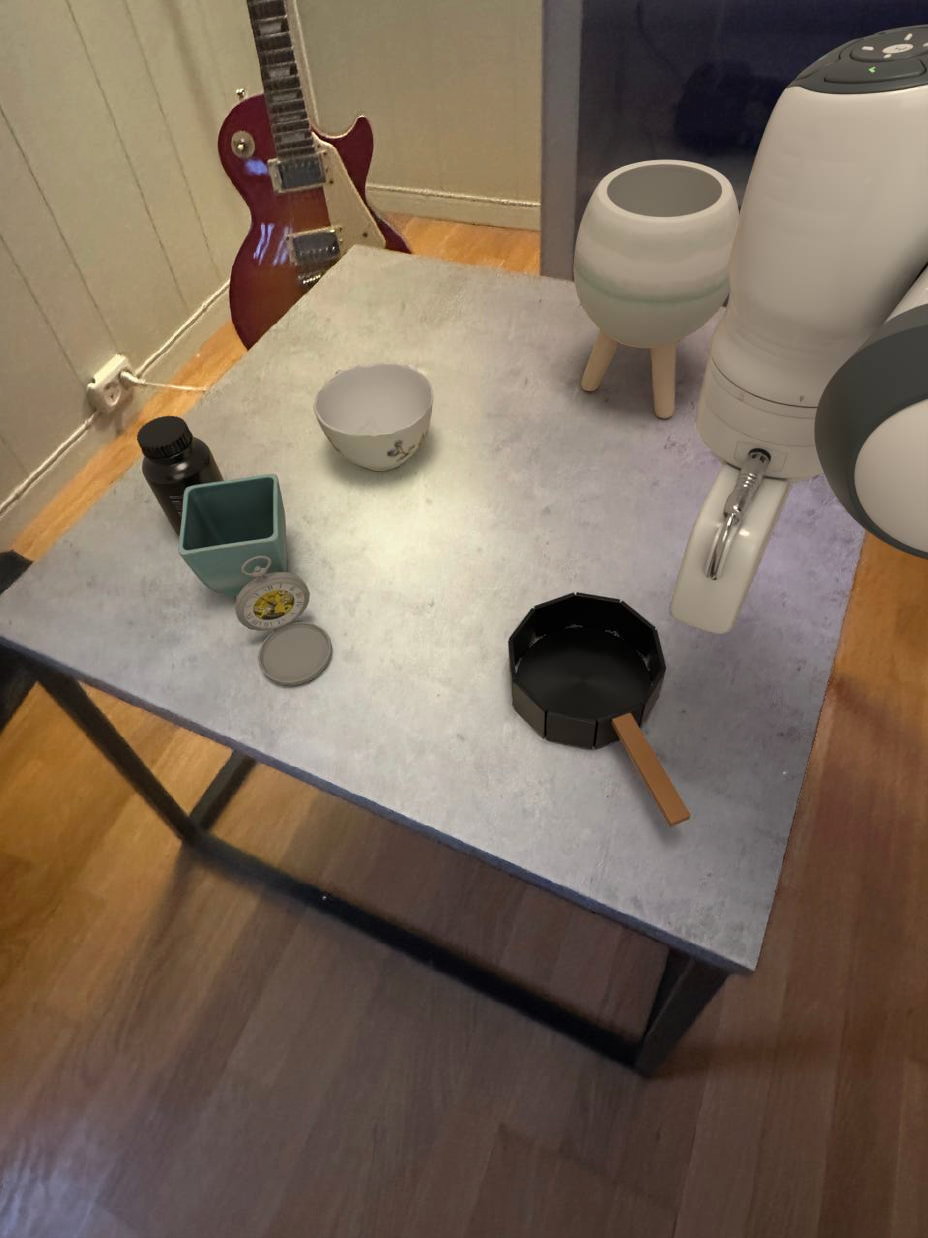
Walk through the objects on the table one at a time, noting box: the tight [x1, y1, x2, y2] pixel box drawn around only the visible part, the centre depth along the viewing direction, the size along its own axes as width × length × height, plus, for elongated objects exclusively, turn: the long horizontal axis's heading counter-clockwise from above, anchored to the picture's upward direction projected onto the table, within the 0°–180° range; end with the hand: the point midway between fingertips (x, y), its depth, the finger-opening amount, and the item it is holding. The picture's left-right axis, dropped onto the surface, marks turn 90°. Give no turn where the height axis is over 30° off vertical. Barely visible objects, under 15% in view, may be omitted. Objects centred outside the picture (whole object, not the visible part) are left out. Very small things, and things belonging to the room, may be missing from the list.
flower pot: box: [177, 473, 287, 598], centre depth 72 cm, size 9×9×9 cm
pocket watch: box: [234, 556, 333, 686], centre depth 66 cm, size 8×8×10 cm
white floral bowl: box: [312, 361, 434, 472], centre depth 82 cm, size 15×12×8 cm
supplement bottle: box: [136, 415, 225, 537], centre depth 76 cm, size 7×7×12 cm
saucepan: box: [507, 591, 692, 828], centre depth 61 cm, size 21×13×5 cm, turn 20°
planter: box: [573, 159, 740, 419], centre depth 80 cm, size 16×16×22 cm
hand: (730, 566), depth 52 cm, fingers open, 8 cm apart
